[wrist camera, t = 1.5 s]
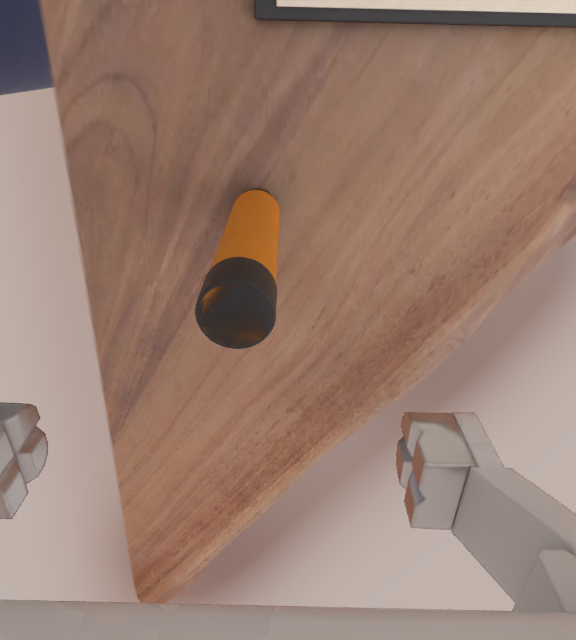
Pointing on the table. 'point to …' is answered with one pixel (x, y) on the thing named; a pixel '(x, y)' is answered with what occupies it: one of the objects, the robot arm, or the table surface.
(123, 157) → the table surface
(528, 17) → the clipboard
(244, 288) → the marker
